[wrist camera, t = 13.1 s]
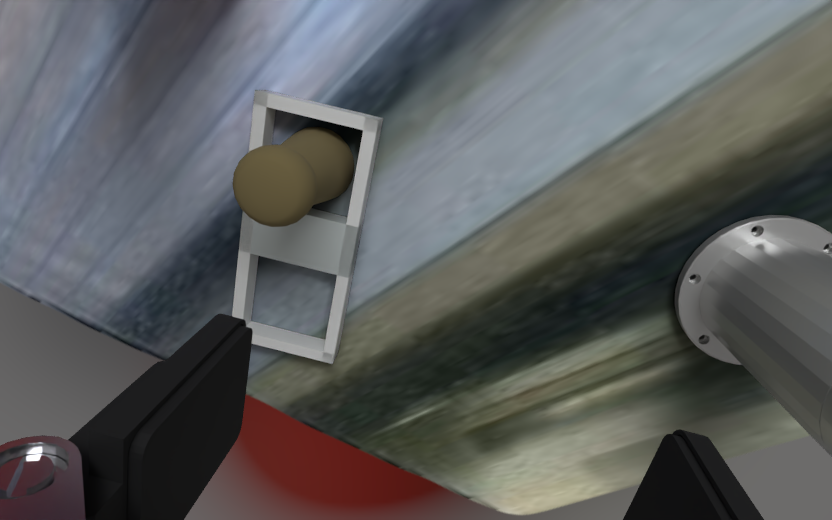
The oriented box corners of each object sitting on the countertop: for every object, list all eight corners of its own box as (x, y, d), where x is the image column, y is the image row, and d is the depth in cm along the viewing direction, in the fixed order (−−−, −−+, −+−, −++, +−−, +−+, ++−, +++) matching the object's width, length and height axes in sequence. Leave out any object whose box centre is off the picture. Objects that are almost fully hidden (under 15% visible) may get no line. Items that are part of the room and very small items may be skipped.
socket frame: (383, 118, 38) (378, 119, 36) (338, 352, 46) (332, 364, 44) (265, 89, 39) (255, 90, 37) (239, 327, 46) (229, 337, 44)
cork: (324, 215, 42) (275, 258, 31) (267, 167, 41) (198, 194, 30) (369, 162, 40) (333, 188, 29) (310, 109, 39) (252, 118, 28)
